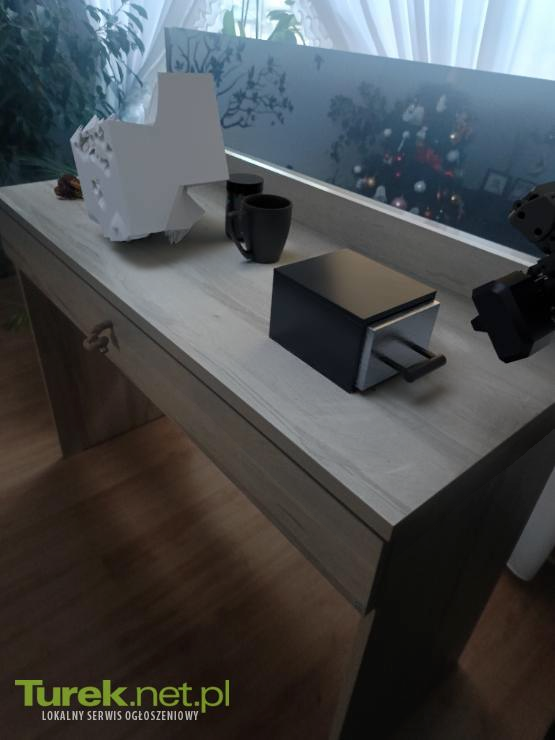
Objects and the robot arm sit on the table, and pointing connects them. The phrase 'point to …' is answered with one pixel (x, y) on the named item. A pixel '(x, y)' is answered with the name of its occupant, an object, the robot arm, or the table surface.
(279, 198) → the mug
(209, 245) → the table surface
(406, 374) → the drawer
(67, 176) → the brown lumpy mound
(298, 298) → the cabinet
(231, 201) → the supplement container
